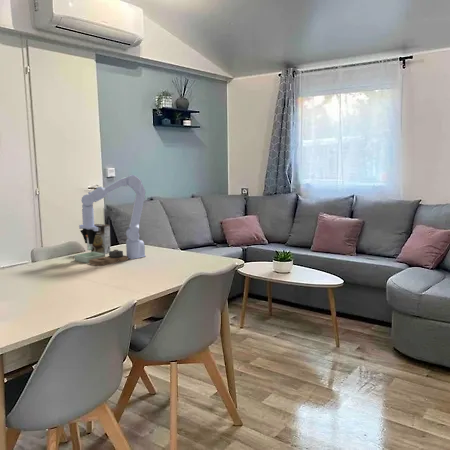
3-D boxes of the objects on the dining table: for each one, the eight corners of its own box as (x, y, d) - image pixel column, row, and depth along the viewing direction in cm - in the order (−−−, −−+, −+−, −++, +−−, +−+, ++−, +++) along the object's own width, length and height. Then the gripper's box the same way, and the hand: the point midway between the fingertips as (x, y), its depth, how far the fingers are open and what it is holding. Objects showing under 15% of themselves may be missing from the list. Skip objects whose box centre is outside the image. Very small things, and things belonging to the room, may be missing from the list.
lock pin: (91, 249, 247) (89, 234, 247) (94, 249, 245) (93, 234, 244) (85, 250, 245) (84, 235, 244) (89, 250, 243) (87, 235, 242)
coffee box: (90, 253, 263) (89, 225, 261) (97, 251, 270) (95, 223, 267) (105, 254, 261) (103, 225, 259) (111, 252, 267) (110, 224, 265)
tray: (93, 257, 254) (92, 251, 254) (105, 259, 247) (105, 254, 246) (74, 260, 246) (74, 254, 245) (86, 263, 238) (86, 257, 238)
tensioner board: (118, 257, 251) (118, 247, 251) (128, 259, 246) (127, 249, 246) (89, 263, 238) (89, 253, 237) (98, 265, 233) (98, 255, 232)
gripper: (73, 217, 245) (74, 242, 247) (89, 219, 235) (90, 246, 237) (85, 216, 250) (86, 241, 252) (101, 218, 241) (102, 244, 243)
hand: (89, 243), depth 245 cm, fingers closed on lock pin, 3 cm apart
